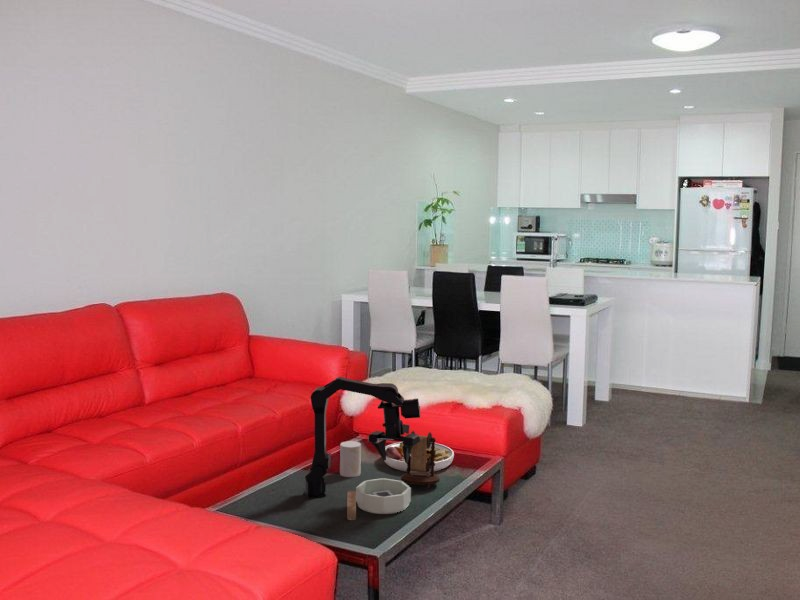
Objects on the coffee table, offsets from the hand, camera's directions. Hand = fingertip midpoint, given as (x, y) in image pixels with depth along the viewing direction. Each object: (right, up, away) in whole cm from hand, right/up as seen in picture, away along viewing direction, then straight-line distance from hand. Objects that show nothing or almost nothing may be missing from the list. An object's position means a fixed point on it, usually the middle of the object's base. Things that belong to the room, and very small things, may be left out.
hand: (395, 461), depth 272 cm
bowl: (+9, -10, +42) cm, 44 cm away
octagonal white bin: (-4, -14, -4) cm, 16 cm away
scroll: (+9, -12, +15) cm, 22 cm away
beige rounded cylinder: (-15, -16, -17) cm, 28 cm away
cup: (-18, -11, +27) cm, 34 cm away
